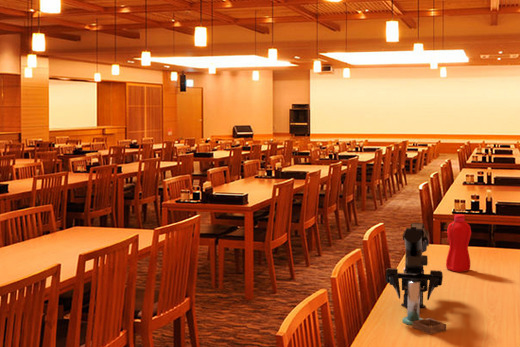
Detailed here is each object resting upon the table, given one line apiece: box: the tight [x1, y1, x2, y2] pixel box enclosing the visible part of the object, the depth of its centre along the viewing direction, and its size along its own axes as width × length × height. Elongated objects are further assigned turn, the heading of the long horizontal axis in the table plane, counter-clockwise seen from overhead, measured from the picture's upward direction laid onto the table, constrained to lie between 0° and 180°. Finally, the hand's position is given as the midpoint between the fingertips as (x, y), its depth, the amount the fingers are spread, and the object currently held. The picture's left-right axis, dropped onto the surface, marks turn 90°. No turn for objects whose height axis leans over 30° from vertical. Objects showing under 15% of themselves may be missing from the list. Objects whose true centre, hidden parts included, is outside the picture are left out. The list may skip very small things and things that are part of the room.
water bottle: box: [445, 213, 472, 273], centre depth 288 cm, size 9×11×25 cm
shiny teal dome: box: [402, 316, 423, 326], centre depth 218 cm, size 7×7×1 cm
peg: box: [406, 280, 421, 321], centre depth 217 cm, size 4×4×13 cm
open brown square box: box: [412, 317, 447, 335], centre depth 211 cm, size 8×8×2 cm
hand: (413, 298), depth 216 cm, fingers open, 9 cm apart
